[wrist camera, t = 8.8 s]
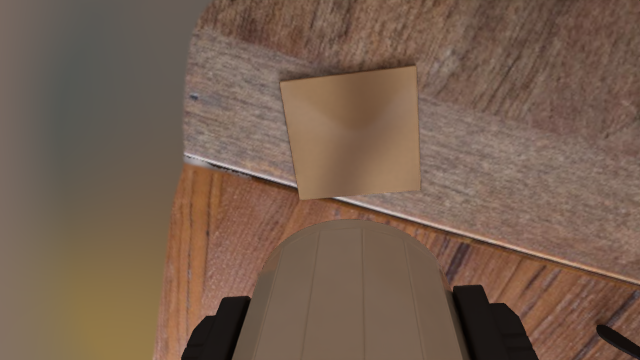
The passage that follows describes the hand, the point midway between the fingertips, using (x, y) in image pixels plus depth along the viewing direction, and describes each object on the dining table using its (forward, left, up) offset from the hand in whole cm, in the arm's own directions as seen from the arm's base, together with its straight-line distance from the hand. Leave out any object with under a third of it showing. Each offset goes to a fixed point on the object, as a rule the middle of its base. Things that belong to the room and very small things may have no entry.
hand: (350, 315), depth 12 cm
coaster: (0, +1, -13) cm, 13 cm away
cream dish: (0, 0, -1) cm, 1 cm away
